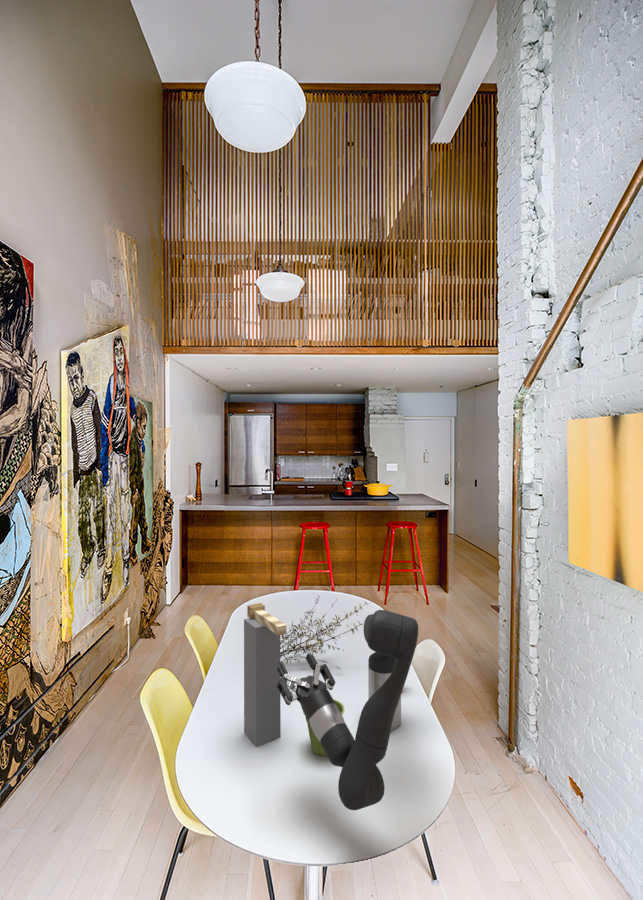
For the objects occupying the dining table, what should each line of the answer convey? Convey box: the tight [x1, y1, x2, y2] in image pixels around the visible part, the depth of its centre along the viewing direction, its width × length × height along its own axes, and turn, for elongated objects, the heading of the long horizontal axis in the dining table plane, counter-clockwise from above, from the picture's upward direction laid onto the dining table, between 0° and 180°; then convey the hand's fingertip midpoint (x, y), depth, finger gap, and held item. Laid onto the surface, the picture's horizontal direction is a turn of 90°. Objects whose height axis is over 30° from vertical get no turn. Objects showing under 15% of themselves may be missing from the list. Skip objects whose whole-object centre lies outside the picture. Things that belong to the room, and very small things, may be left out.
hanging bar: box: [246, 602, 288, 636], centre depth 134 cm, size 18×4×3 cm, turn 34°
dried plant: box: [280, 595, 371, 671], centre depth 182 cm, size 30×31×45 cm
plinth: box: [243, 617, 281, 748], centre depth 136 cm, size 8×8×34 cm
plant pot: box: [302, 698, 345, 757], centre depth 130 cm, size 12×12×11 cm
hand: (293, 659), depth 121 cm, fingers open, 8 cm apart
